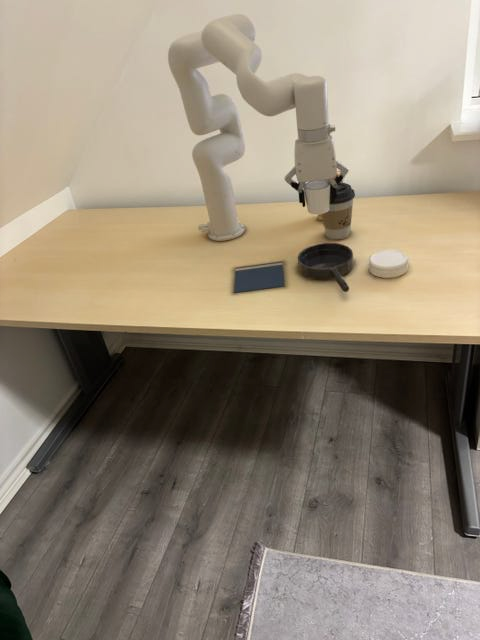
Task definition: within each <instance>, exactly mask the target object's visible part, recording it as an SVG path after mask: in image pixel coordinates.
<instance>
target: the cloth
mask: <svg viewBox="0 0 480 640" xmlns="http://www.w3.org/2000/svg"><path fill="white" fill-rule="evenodd" d="M234 273H235V274H234V285H233V293H234V294H239V293H246V292H247V293H248V292H254V291H261V290H263V291H264V290H270V289H278V288H285V287H286V286H285V275H284V264H283V261H282V260H281V261H275V262H268V263H260V264H252V265H245V266H244V265H243V266H238V267H235V268H234Z"/></svg>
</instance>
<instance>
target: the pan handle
mask: <svg viewBox="0 0 480 640" xmlns="http://www.w3.org/2000/svg"><path fill="white" fill-rule="evenodd" d="M330 272H331V273H332V275H333V277H334V278H335V279H334V280H335V282H336V283H337V284H338V286H339V287H340V289H341V290H342V292H343V293H347V292H349V290H350V286H349V285H348V283H347V282H346V280H345V279H344V277H343V276H341V274H340V273H339V271H338V270H337V268H336V267H335V268H334V267H333V268H330Z"/></svg>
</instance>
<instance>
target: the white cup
mask: <svg viewBox="0 0 480 640" xmlns="http://www.w3.org/2000/svg"><path fill="white" fill-rule="evenodd" d="M303 189H304V194H305V204H306V209H307V212H308V214H310V215H317V216H318V214H324V213H326V212H328V211H329V203H330V182H329V181H326V180H319V181H312V182H306V183H305V185H304V188H303Z"/></svg>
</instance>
